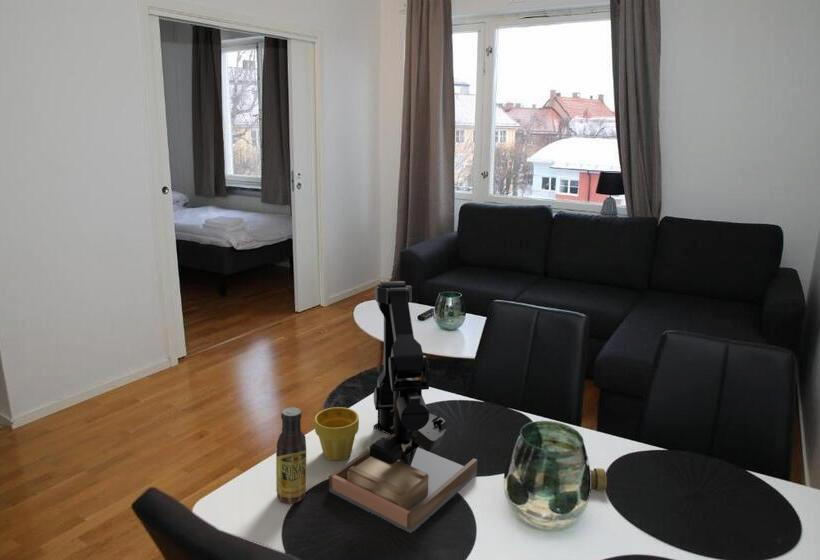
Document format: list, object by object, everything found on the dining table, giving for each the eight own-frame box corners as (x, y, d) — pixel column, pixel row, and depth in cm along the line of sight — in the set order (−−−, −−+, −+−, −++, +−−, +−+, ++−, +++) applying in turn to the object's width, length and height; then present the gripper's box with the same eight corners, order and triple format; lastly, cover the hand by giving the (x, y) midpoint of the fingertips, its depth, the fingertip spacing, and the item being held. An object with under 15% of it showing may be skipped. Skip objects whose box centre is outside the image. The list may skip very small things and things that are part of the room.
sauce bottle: (281, 508, 122) (277, 422, 117) (273, 492, 127) (269, 408, 122) (311, 500, 125) (309, 415, 119) (302, 484, 130) (300, 402, 125)
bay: (329, 491, 128) (328, 475, 127) (400, 443, 147) (400, 429, 146) (410, 533, 115) (411, 516, 114) (476, 475, 134) (477, 459, 133)
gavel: (546, 429, 149) (586, 432, 148) (544, 446, 150) (584, 448, 149) (560, 472, 129) (607, 475, 128) (559, 491, 129) (605, 494, 129)
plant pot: (335, 471, 135) (335, 432, 133) (306, 454, 142) (305, 417, 139) (367, 452, 143) (367, 416, 140) (338, 437, 149) (338, 402, 147)
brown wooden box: (347, 490, 126) (347, 469, 125) (377, 469, 134) (377, 449, 133) (399, 517, 118) (399, 494, 117) (428, 493, 126) (428, 472, 125)
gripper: (411, 436, 115) (410, 505, 119) (462, 400, 129) (459, 463, 133) (367, 419, 121) (368, 485, 125) (420, 386, 135) (419, 447, 140)
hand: (406, 470), depth 131 cm, fingers closed
